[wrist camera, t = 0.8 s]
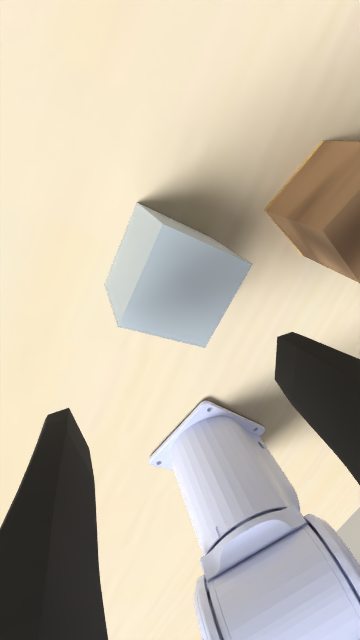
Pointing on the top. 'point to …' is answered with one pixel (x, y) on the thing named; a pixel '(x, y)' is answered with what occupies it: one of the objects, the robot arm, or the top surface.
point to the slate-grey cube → (172, 279)
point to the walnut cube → (324, 207)
